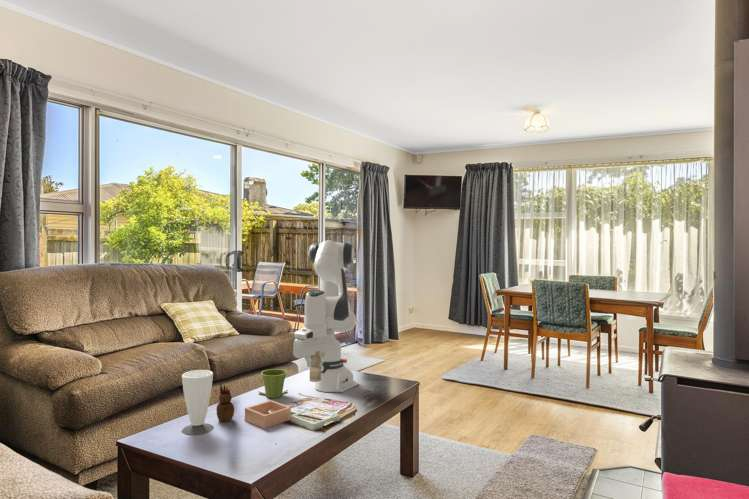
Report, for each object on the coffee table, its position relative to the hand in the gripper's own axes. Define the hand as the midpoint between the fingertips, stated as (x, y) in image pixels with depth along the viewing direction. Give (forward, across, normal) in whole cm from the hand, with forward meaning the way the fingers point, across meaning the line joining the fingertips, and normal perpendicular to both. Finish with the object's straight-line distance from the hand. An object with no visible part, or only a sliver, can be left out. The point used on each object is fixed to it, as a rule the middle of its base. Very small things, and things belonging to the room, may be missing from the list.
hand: (315, 365), depth 200 cm
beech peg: (+6, 0, 0) cm, 6 cm away
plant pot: (+23, -8, -37) cm, 44 cm away
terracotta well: (+23, +12, -15) cm, 30 cm away
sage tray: (+23, 0, 0) cm, 23 cm away
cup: (+23, +36, -27) cm, 51 cm away
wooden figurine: (+23, +24, -27) cm, 43 cm away
